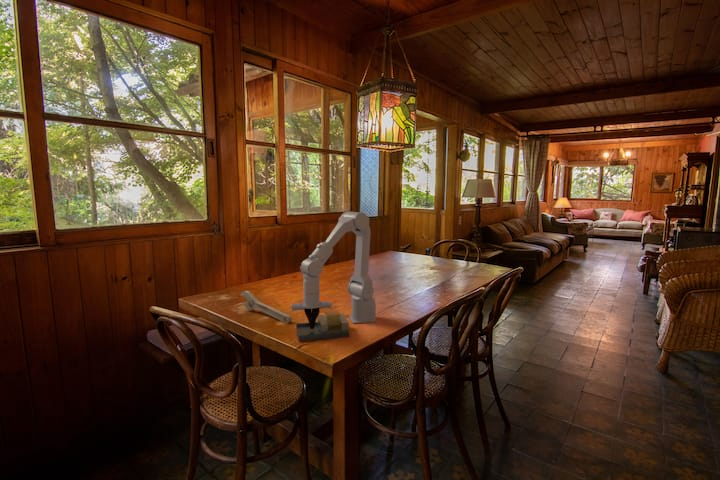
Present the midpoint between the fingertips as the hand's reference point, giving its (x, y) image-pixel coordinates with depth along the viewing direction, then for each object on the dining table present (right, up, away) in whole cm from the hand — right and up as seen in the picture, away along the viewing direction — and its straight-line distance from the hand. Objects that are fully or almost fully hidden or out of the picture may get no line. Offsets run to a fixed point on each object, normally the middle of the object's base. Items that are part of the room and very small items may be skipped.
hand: (311, 328), depth 135 cm
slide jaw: (+4, -1, +1) cm, 4 cm away
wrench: (-22, 0, +19) cm, 29 cm away
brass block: (+8, -1, +2) cm, 8 cm away
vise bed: (+4, -2, +1) cm, 4 cm away
